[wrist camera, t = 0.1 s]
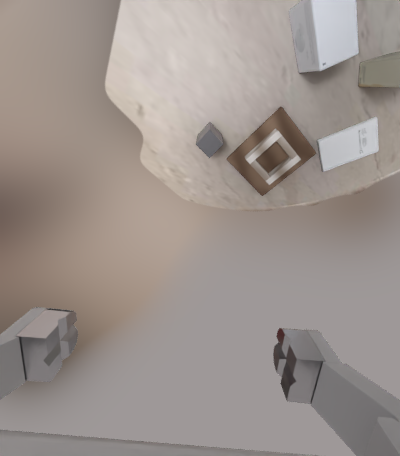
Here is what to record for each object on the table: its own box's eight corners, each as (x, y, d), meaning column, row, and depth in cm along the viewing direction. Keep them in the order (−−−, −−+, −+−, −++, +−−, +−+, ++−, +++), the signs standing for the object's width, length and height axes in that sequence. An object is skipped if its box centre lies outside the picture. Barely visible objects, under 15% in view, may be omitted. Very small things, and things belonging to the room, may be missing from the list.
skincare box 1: (331, 58, 45) (360, 54, 36) (298, 73, 47) (318, 73, 38) (325, -11, 40) (357, -35, 31) (288, 9, 42) (308, -8, 33)
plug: (209, 121, 52) (209, 129, 45) (221, 134, 54) (223, 144, 46) (197, 134, 54) (195, 144, 47) (209, 146, 56) (209, 158, 48)
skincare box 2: (357, 86, 48) (396, 90, 37) (359, 61, 45) (402, 57, 35) (391, 76, 46) (441, 77, 36) (395, 50, 44) (449, 43, 34)
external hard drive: (315, 139, 54) (373, 116, 51) (320, 170, 58) (375, 150, 55) (318, 141, 53) (378, 117, 50) (323, 172, 57) (379, 152, 54)
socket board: (280, 106, 50) (285, 108, 47) (314, 151, 55) (320, 156, 52) (226, 158, 57) (227, 162, 54) (261, 194, 62) (264, 200, 59)
